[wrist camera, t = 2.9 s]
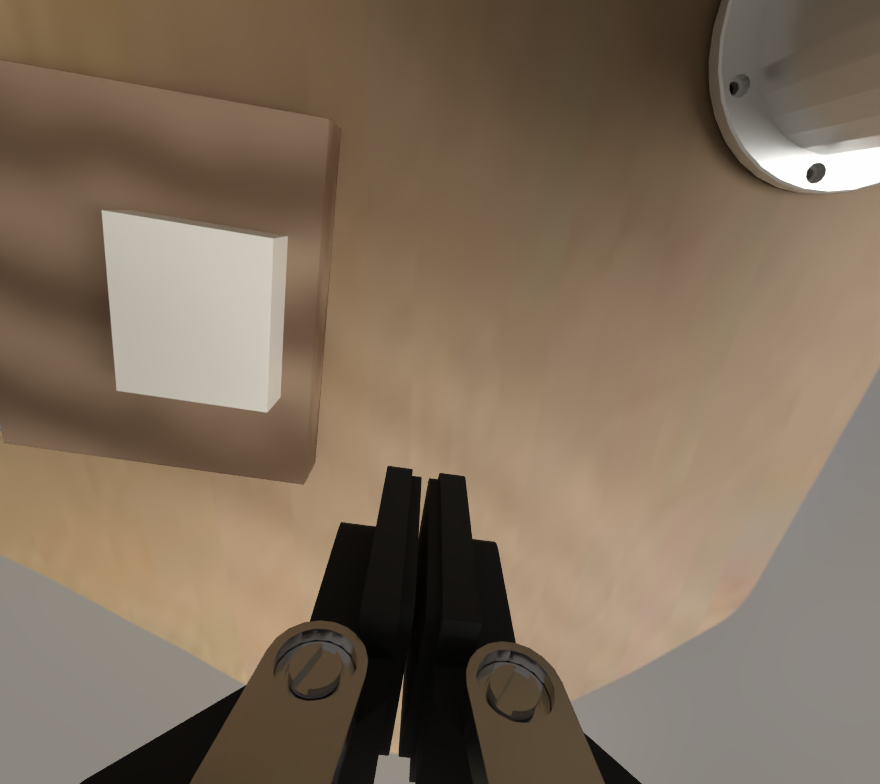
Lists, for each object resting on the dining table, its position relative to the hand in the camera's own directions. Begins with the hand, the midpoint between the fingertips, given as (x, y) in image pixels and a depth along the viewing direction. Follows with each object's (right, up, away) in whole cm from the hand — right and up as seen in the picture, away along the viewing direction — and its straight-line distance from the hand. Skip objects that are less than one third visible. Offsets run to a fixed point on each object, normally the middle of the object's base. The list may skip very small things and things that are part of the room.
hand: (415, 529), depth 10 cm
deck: (-13, +8, +15) cm, 22 cm away
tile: (-10, +7, +13) cm, 18 cm away
